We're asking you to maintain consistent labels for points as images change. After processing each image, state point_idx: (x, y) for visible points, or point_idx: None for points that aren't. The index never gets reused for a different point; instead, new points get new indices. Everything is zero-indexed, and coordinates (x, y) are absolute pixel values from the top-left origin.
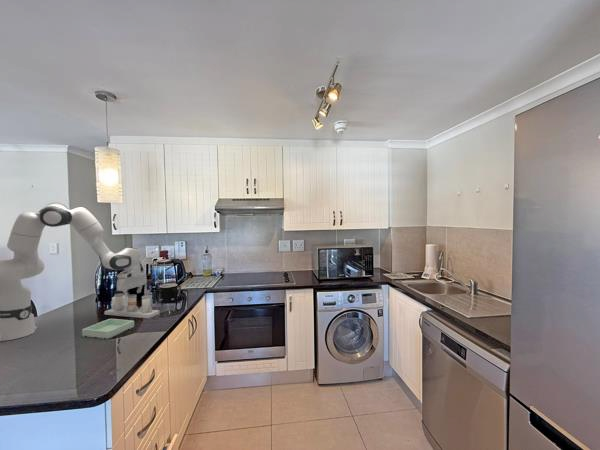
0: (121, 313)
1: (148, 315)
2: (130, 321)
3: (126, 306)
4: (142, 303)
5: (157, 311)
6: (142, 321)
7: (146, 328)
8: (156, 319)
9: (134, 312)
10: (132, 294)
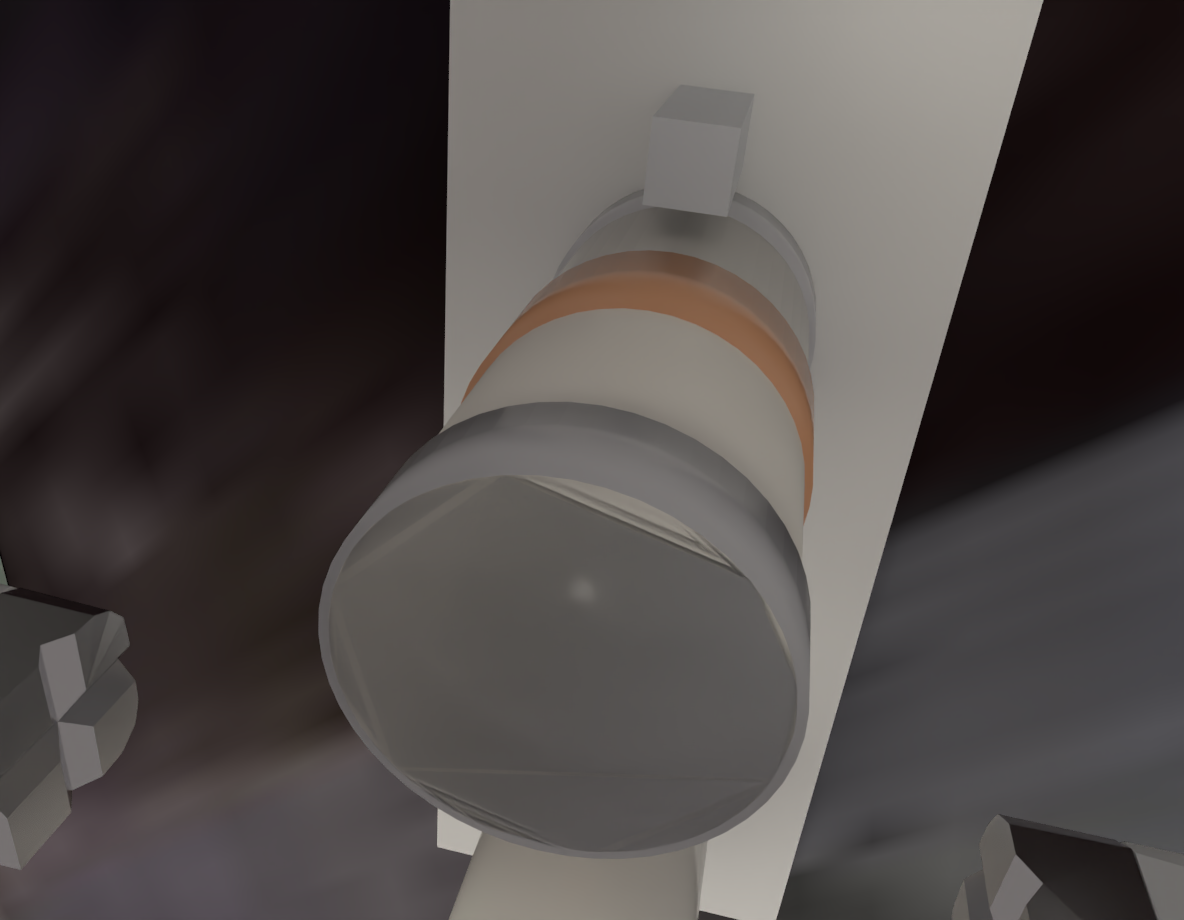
0: (455, 70)
1: (439, 829)
2: None
3: (656, 121)
4: (458, 895)
5: (702, 907)
6: (290, 749)
7: (82, 900)
8: (437, 908)
9: None
10: (711, 623)
